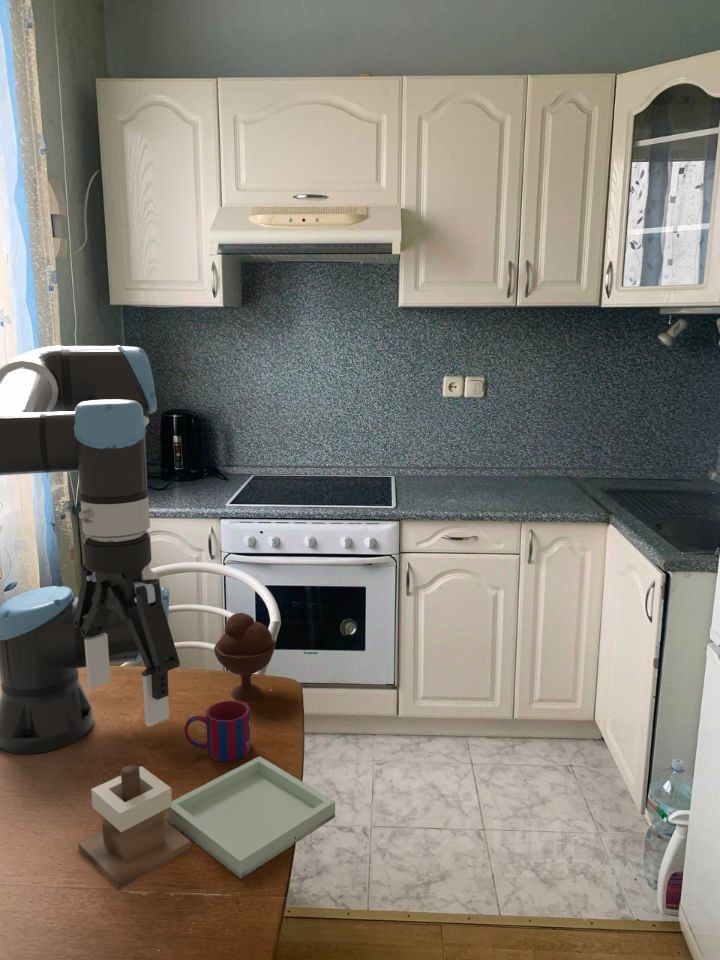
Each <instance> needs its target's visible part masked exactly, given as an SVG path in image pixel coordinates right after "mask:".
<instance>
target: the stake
mask: <svg viewBox="0 0 720 960" xmlns="http://www.w3.org/2000/svg"><path fill="white" fill-rule="evenodd" d="M139 767H140V766H138V765H134V764H133V765H128V766H127V765H126V766H125V767H123V768H122V769H121V770H120V776H121V782H122V798H123V801H124V802H127V801H129V800H131V799H133V798H135V797H137V796H139V795H141V789H140V772H139ZM101 824H102V825H101V827H102V830H100V831H99V832H97V833H95V834H93V835H91V836H89V837H87V838H85V839H83V840H81V841H79V842H78V843H77V845H78V851H79V852H80V853H81V854H82V855H83V856H84V857H85V859H87V860H88V861H89V862H90V863H91V864H92V865H93V866H94V867H95V868H97V870H99V872H100V873H101V874H102V875H103V876H104V877H106V879H108V881H110V883H112V885H113V886H114V887H116V889H117V890H121V889H122V888H124V887H127V885H129V884H131V883H133V882H135V881H136V880H138V879H139V878H141V877H144V876H145V875H147V874H148V873H150V872H152V871H153V870H155V869H157V868H159V867H160V866H162V865H164V864H165V863H167V862H170V861H171V860H172V859H175V858H176V857H178V856H179V855H181V854H183V853H185V852H186V851H188V850H190V849H191V847H192V845H191V844H192V843H191V841H192V840H191V839H190V838H188V837H187V836H185V834H182V832H180V830H178V829H177V828H176V827H175V826H173V825H171V823H170V822H169V823H168V821H166V820H165V810H163V811H161V812H159V813H157V814H155V815H154V816H152V817H150V818H148V819H146V820H144V821H142V822H140V823H138V824H136V825H134V826H132V827H130V828H129V829H127V830H125V831H123V832H120V831H119V830H118V829H117V828H116V827H114V826H113V825H112V824H111V823H110V822H109V821H108V820H106V819H105V818H104V817H103V816H102V815H101Z"/></svg>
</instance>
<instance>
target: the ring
mask: <svg viewBox="0 0 720 960" xmlns="http://www.w3.org/2000/svg"><path fill="white" fill-rule="evenodd" d="M138 767H139V772H140V789H141V795H139V796H137V797H135V798H133V799H131V800H129V801H127V802H124V801H123V798H122V782H121V775H119V776H116V777H115V778H113V779H110V780H107V781H106V782H104V783H102V784H99V785H97V786H95V787H93V788H91V790H90V791H91V792H90V793H91V803H92V804H91V806H92V808H93V809H94V810H95V812H97V813H99V814H100V815H101V817H102V816H103V817H104V818H105V819H106V820H108V821H109V822H110V823H111V824H112V825H113V826H114V827H116V828H117V829H118V830H119V831H120V832H123V831H125V830H127V829H129V828H130V827H132V826H134V825H136V824H138V823H140V822H142V821H144V820H146V819H148V818H150V817H152V816H154V815H155V814H157V813H159V812H161V811H163V810H164V811H165V810H167V808H169V807H171V806H172V801H173V799H172V787H170V786H169V785H168V784H167V783H165V782H164V781H162V780H161V779H159V777H157V776H156V775H154V774H153V773H151V771H149V770H148V769H146V768H145V767H143V765H142V766H138Z"/></svg>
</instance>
